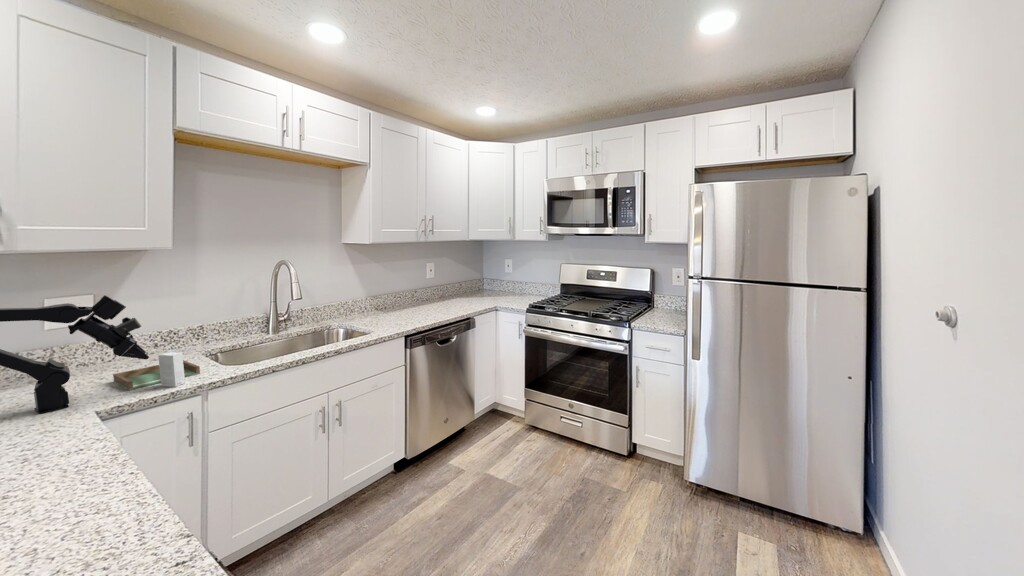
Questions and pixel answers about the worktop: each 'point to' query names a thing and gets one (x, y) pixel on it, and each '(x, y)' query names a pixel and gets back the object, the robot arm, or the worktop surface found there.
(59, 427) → the worktop surface
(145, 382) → the box
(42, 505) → the worktop surface
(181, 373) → the skincare box
